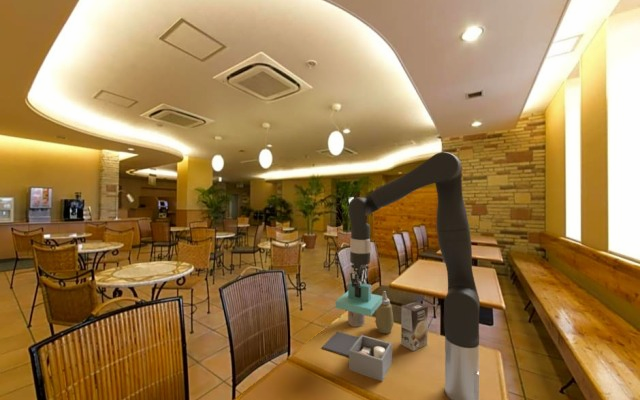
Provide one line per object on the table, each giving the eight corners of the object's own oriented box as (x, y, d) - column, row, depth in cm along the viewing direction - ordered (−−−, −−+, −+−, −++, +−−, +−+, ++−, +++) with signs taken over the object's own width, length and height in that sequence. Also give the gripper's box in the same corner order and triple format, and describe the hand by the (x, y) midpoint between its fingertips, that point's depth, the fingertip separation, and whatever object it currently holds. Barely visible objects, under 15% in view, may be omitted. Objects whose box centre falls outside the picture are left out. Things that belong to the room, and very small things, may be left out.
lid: (382, 302, 105) (382, 282, 104) (370, 316, 93) (371, 293, 93) (349, 295, 111) (350, 276, 111) (335, 307, 99) (335, 286, 99)
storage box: (392, 361, 100) (392, 343, 100) (382, 381, 89) (382, 360, 89) (361, 352, 106) (361, 334, 106) (349, 370, 95) (349, 350, 95)
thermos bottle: (352, 327, 125) (352, 268, 125) (345, 320, 133) (345, 263, 132) (367, 325, 128) (367, 266, 127) (360, 317, 135) (360, 262, 135)
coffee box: (413, 351, 106) (413, 311, 106) (400, 344, 111) (400, 305, 111) (428, 344, 111) (428, 306, 111) (415, 337, 116) (415, 300, 116)
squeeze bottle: (394, 336, 118) (394, 295, 117) (375, 334, 119) (375, 294, 119) (393, 327, 126) (393, 288, 125) (375, 325, 127) (375, 287, 127)
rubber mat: (366, 340, 114) (366, 339, 114) (354, 358, 102) (354, 357, 102) (337, 332, 121) (337, 331, 121) (321, 348, 109) (321, 346, 109)
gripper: (363, 255, 94) (362, 304, 94) (375, 248, 106) (374, 291, 106) (343, 252, 97) (342, 299, 98) (357, 246, 109) (357, 288, 110)
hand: (359, 295), depth 102 cm, fingers closed on lid, 3 cm apart
